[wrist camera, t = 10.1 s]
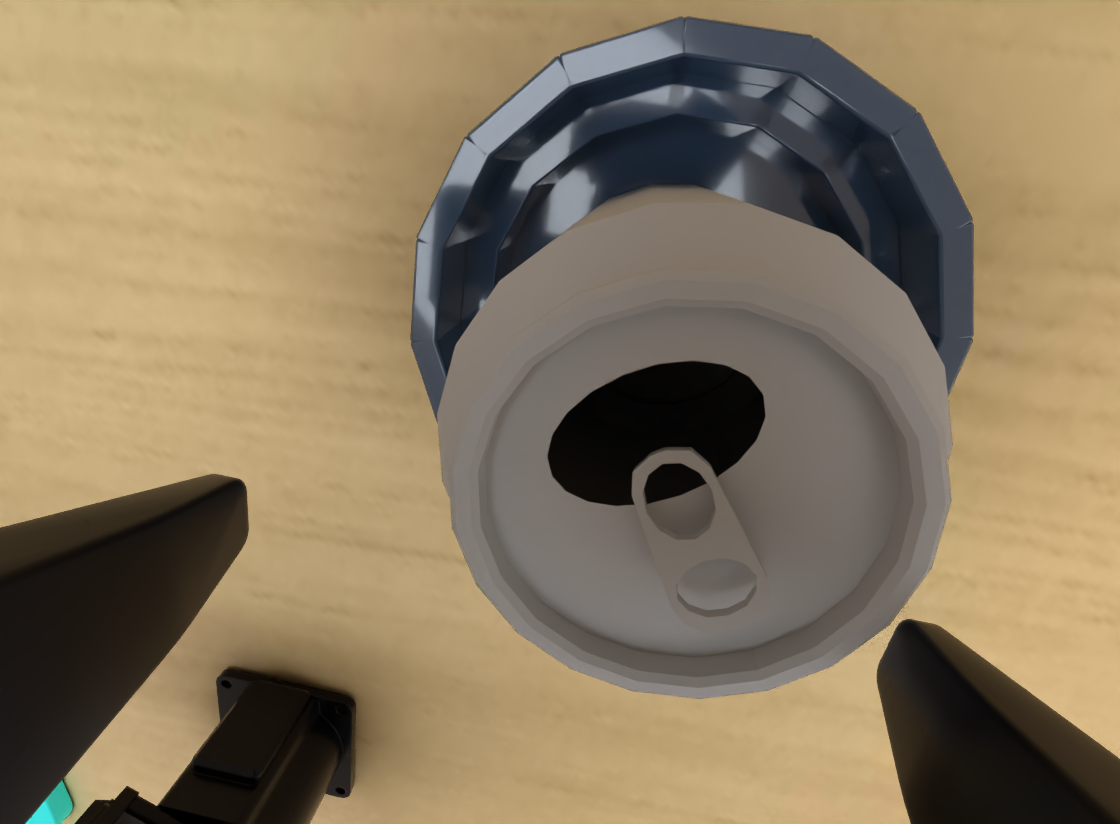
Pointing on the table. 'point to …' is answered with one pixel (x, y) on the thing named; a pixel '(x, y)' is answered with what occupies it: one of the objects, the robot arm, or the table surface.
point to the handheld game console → (53, 807)
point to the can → (696, 446)
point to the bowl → (696, 168)
